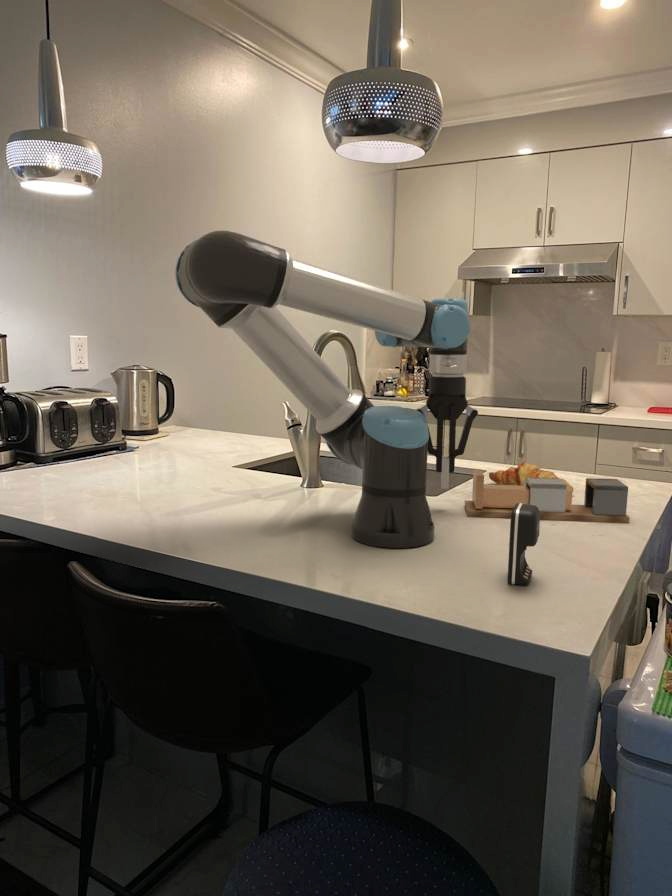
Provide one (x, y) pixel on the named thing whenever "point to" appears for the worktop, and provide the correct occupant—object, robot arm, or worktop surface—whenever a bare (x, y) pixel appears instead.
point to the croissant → (522, 475)
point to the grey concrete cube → (547, 494)
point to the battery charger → (522, 541)
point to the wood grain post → (503, 494)
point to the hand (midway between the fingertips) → (444, 487)
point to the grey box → (606, 496)
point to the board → (547, 514)
